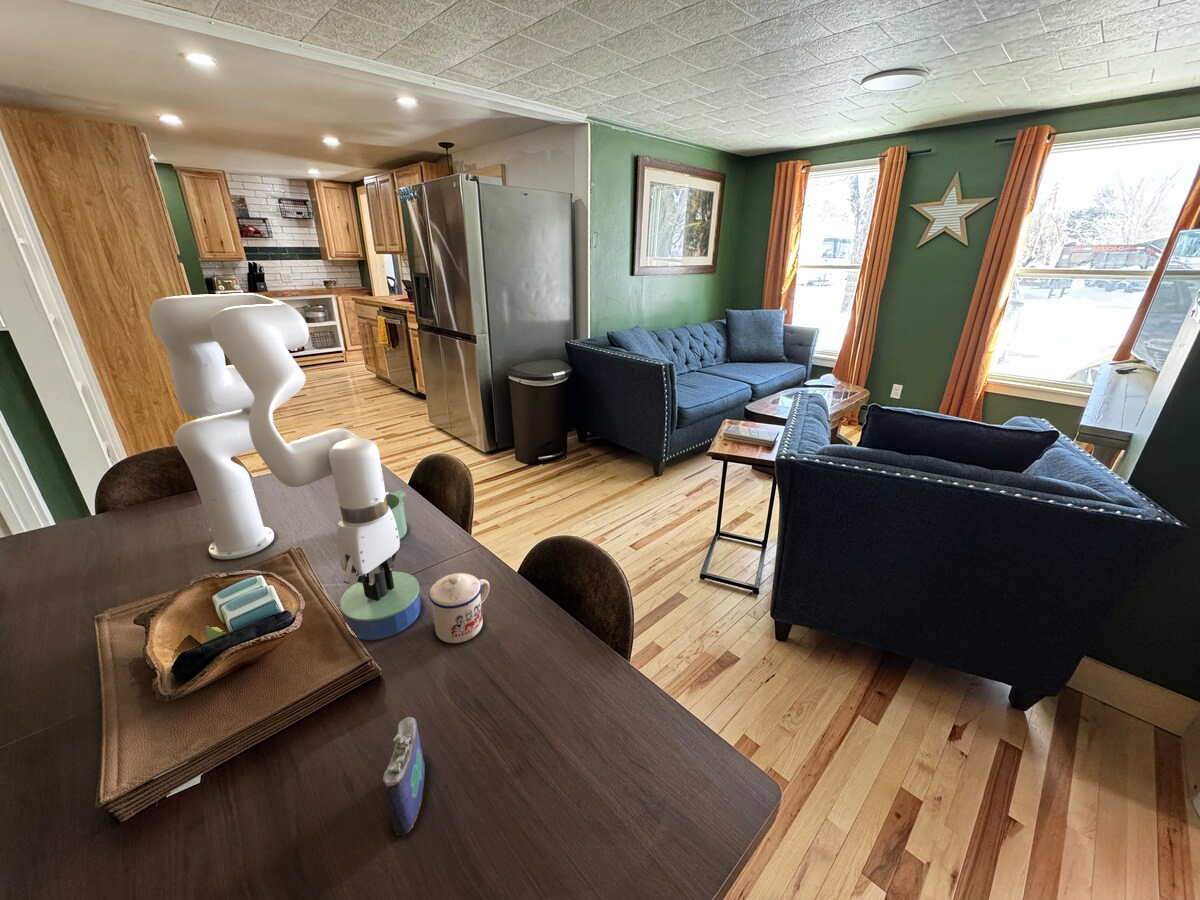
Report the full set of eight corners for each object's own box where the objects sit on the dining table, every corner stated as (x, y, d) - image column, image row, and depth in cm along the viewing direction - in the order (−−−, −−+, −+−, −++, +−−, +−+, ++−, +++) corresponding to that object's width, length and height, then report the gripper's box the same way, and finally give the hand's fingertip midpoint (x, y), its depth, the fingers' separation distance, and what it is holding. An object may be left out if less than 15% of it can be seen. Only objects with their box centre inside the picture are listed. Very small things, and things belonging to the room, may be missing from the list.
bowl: (329, 628, 88) (324, 608, 87) (382, 585, 100) (379, 567, 98) (385, 648, 84) (382, 628, 82) (434, 601, 96) (432, 583, 94)
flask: (407, 762, 65) (397, 706, 61) (429, 759, 66) (421, 704, 62) (390, 837, 57) (376, 779, 53) (415, 834, 57) (404, 775, 53)
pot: (330, 547, 112) (323, 516, 109) (386, 512, 128) (382, 484, 125) (372, 559, 108) (366, 527, 105) (424, 521, 124) (421, 493, 121)
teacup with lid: (454, 653, 83) (448, 600, 79) (424, 629, 88) (416, 578, 84) (505, 615, 92) (502, 566, 88) (475, 596, 97) (470, 548, 93)
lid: (323, 612, 87) (316, 582, 84) (380, 569, 99) (375, 542, 96) (383, 632, 82) (377, 602, 80) (434, 585, 94) (431, 558, 92)
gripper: (382, 485, 91) (395, 564, 98) (307, 526, 77) (329, 615, 84) (413, 492, 89) (424, 573, 96) (342, 535, 75) (362, 626, 82)
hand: (380, 592), depth 90 cm, fingers closed on lid, 2 cm apart
